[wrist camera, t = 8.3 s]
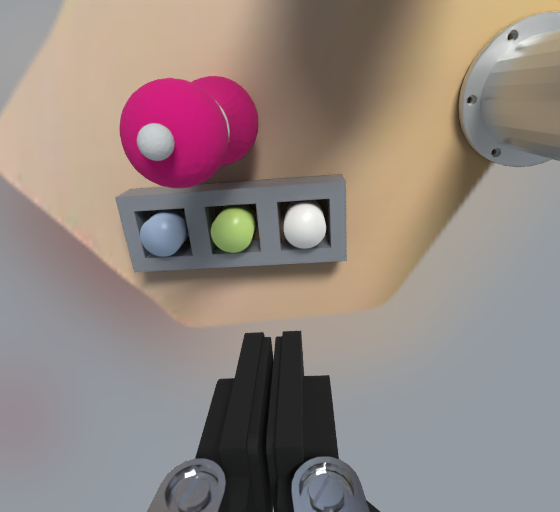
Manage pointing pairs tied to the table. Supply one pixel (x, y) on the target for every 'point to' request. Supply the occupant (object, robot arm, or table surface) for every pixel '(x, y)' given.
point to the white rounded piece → (304, 223)
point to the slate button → (164, 232)
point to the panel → (235, 193)
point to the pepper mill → (187, 129)
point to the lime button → (234, 228)
